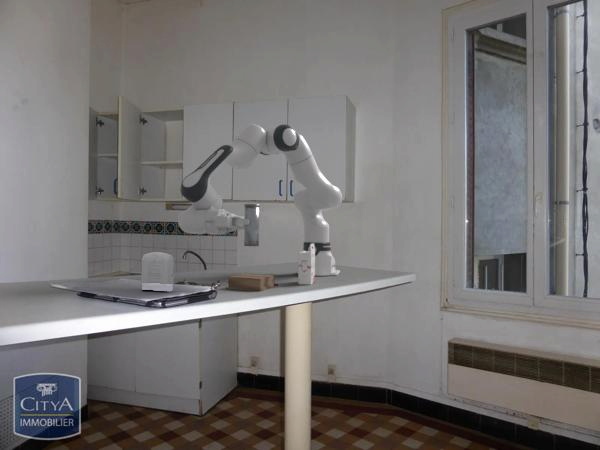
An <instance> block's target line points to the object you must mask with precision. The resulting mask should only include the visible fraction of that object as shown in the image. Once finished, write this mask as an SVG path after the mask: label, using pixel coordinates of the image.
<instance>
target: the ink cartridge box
mask: <svg viewBox="0 0 600 450" xmlns="http://www.w3.org/2000/svg"><path fill="white" fill-rule="evenodd" d="M312 247H313V249H312ZM297 255H298V256H297V257H298V258H297V259H298V262H297V263H298V265H297V266H298V270H297V271H299V273H298V285H306V286H307V285H312V284H314V283H315V281H316V280H315V279H316V276H315V246H314V244H310V251H304V250H303V251H298V253H297Z"/></svg>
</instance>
